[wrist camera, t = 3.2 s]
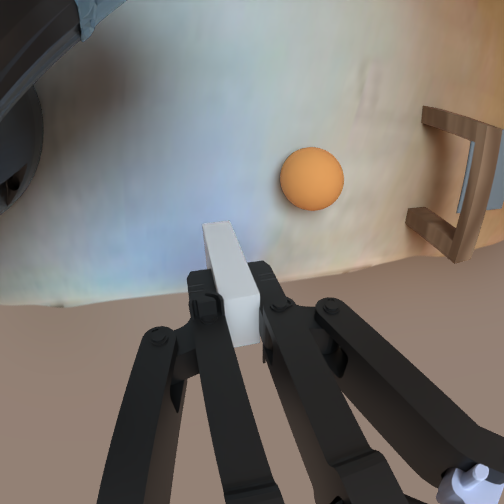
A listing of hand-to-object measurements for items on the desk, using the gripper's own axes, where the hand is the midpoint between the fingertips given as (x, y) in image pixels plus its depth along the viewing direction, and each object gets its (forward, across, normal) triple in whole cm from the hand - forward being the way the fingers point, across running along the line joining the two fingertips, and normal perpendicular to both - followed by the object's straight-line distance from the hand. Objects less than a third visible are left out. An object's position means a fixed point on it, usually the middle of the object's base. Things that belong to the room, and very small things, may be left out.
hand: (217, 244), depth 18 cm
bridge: (+11, +25, 0) cm, 28 cm away
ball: (+9, +9, 0) cm, 13 cm away
